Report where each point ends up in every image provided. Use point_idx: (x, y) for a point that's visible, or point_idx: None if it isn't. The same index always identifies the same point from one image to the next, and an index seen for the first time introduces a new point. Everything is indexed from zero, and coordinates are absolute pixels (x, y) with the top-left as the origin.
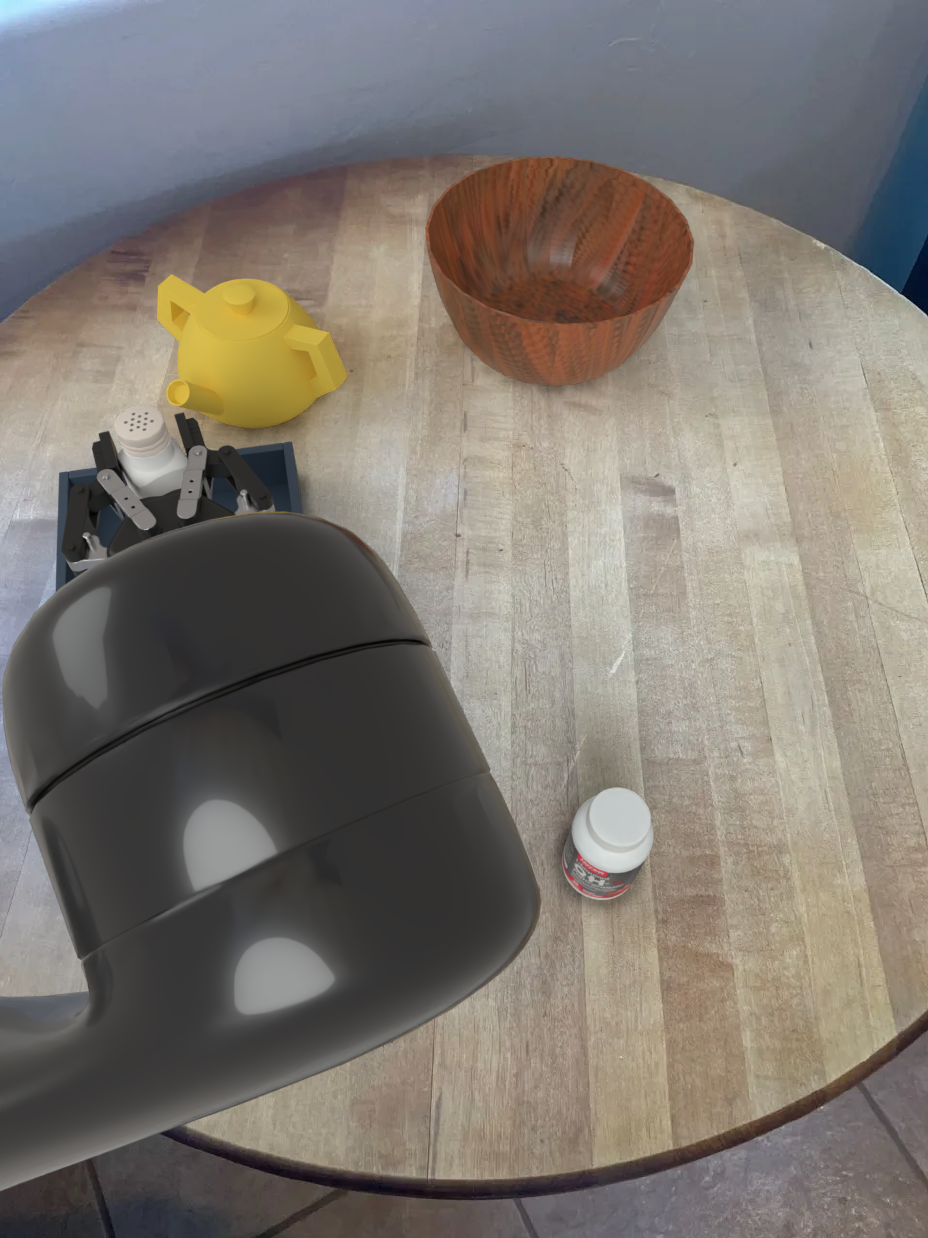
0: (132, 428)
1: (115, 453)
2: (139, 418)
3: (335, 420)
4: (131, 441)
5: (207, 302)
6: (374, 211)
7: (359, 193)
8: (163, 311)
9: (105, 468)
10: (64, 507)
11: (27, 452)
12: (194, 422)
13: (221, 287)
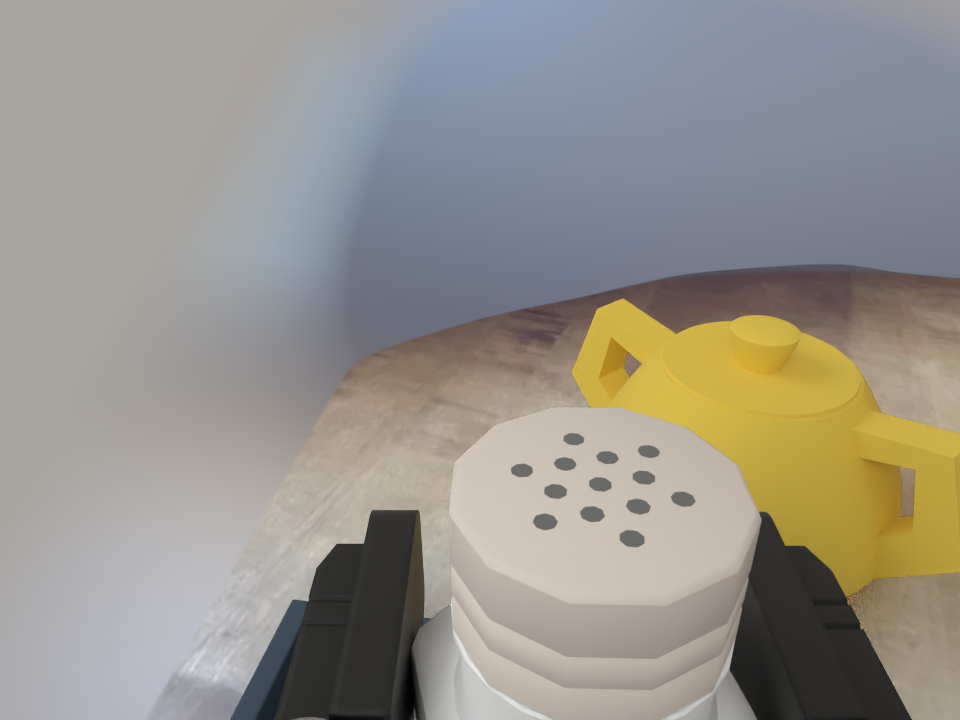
0: (554, 513)
1: (410, 624)
2: (605, 468)
3: (909, 639)
4: (528, 598)
5: (687, 343)
6: (905, 321)
7: (875, 300)
8: (589, 358)
9: (326, 702)
10: (258, 696)
11: (279, 540)
12: (817, 571)
13: (714, 327)
